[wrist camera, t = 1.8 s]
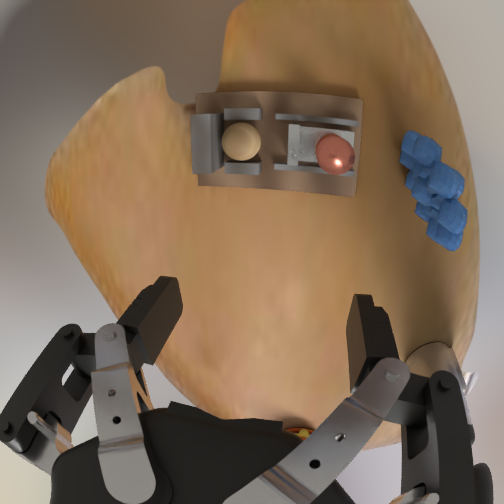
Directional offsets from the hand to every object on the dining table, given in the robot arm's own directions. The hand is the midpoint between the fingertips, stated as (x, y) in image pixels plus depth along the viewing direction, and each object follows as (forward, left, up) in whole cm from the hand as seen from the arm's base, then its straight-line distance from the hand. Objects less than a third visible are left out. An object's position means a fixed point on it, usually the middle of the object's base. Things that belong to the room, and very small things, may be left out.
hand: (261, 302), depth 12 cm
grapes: (-15, -3, -22) cm, 27 cm away
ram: (-3, -5, -20) cm, 21 cm away
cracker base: (+2, -5, -22) cm, 22 cm away
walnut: (+5, -5, -20) cm, 21 cm away
